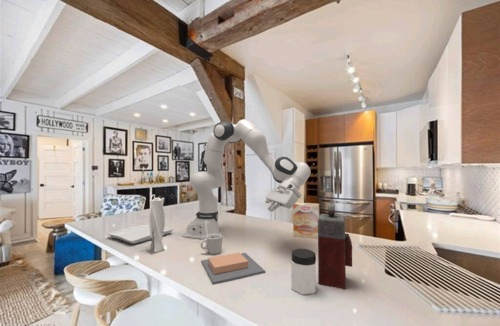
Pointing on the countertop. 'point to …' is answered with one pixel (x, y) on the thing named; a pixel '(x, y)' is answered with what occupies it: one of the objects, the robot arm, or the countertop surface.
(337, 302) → the countertop surface
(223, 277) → the mat
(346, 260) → the dark red grey-topped box
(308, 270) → the jar
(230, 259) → the peach rectangular block
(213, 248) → the cup
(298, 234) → the coffeecake box
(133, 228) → the square plate
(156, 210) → the skyscraper
